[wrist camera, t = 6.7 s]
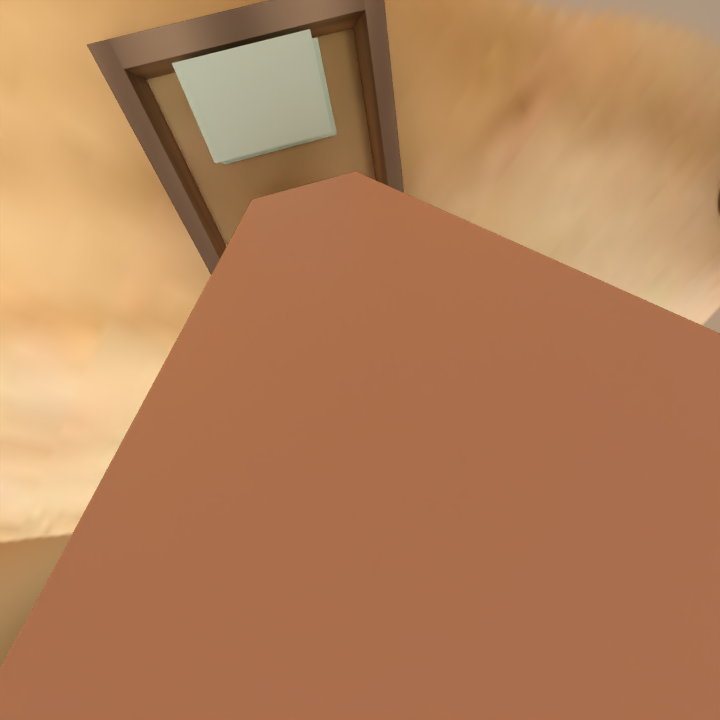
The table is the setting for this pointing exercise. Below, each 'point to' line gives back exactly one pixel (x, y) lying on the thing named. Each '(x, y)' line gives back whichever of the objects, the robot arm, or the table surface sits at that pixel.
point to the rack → (229, 30)
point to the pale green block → (259, 96)
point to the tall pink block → (397, 492)
